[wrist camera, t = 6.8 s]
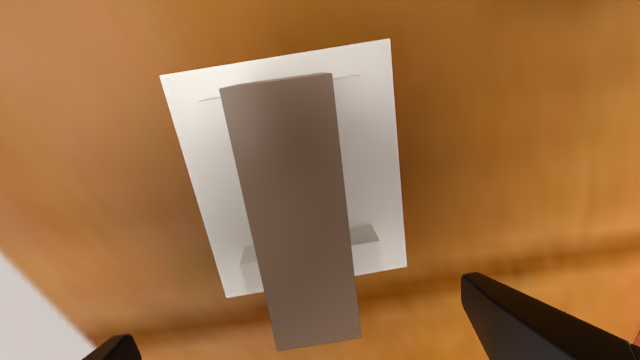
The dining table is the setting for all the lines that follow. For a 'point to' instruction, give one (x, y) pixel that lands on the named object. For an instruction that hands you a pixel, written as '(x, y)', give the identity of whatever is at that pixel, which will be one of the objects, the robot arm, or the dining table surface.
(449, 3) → the dining table surface
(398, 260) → the display rest
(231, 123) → the gray cuboid brick
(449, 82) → the dining table surface
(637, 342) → the chair
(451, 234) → the dining table surface
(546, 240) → the dining table surface
